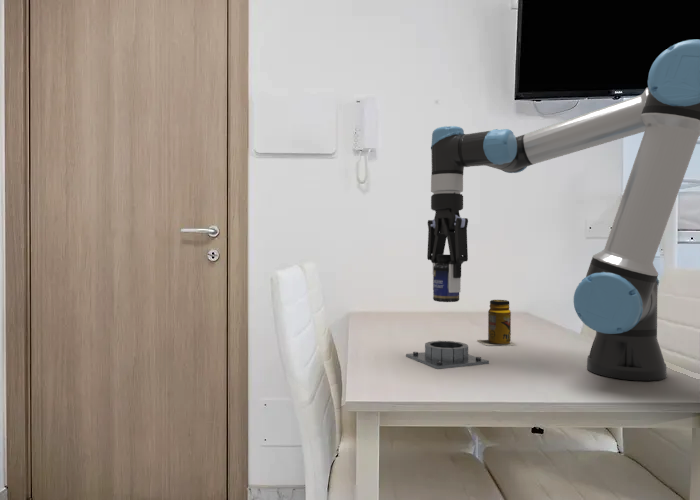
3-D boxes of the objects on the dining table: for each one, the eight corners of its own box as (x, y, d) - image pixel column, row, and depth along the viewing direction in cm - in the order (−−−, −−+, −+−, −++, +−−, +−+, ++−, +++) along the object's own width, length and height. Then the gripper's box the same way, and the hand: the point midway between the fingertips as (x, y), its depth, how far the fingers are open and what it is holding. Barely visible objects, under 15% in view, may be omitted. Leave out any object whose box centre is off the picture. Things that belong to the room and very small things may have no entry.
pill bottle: (428, 300, 125) (428, 254, 125) (449, 299, 128) (449, 254, 128) (443, 302, 120) (443, 254, 120) (464, 301, 122) (465, 254, 122)
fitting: (489, 363, 120) (489, 348, 120) (437, 369, 115) (437, 352, 115) (454, 352, 133) (454, 337, 133) (406, 356, 128) (406, 341, 128)
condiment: (516, 345, 143) (516, 301, 142) (486, 346, 141) (487, 302, 141) (504, 340, 150) (505, 298, 150) (476, 341, 149) (476, 299, 148)
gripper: (485, 190, 116) (484, 294, 116) (438, 197, 134) (437, 287, 134) (457, 189, 113) (456, 295, 113) (413, 196, 131) (412, 288, 131)
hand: (446, 290), depth 124 cm, fingers closed on pill bottle, 6 cm apart
